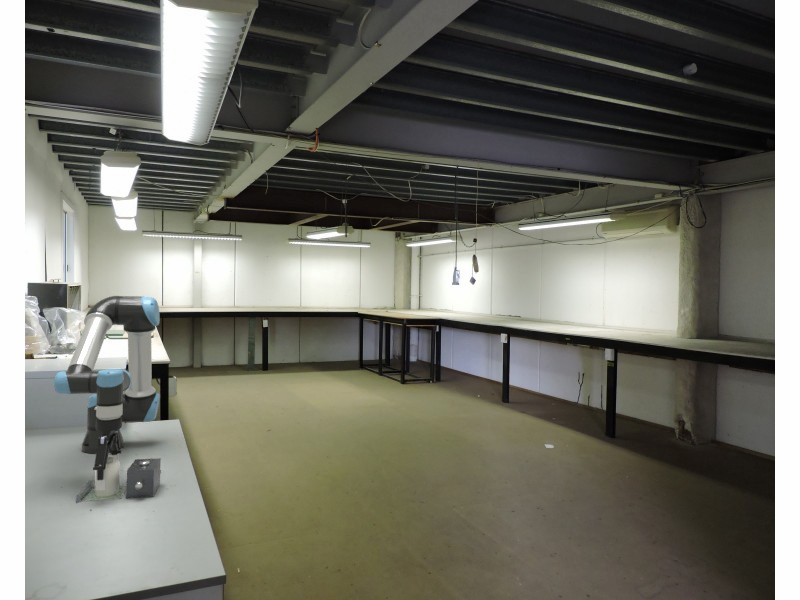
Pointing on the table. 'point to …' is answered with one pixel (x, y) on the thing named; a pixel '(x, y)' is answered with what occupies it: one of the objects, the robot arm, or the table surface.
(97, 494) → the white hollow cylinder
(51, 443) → the table surface
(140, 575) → the table surface
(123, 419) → the robot arm
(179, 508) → the table surface
